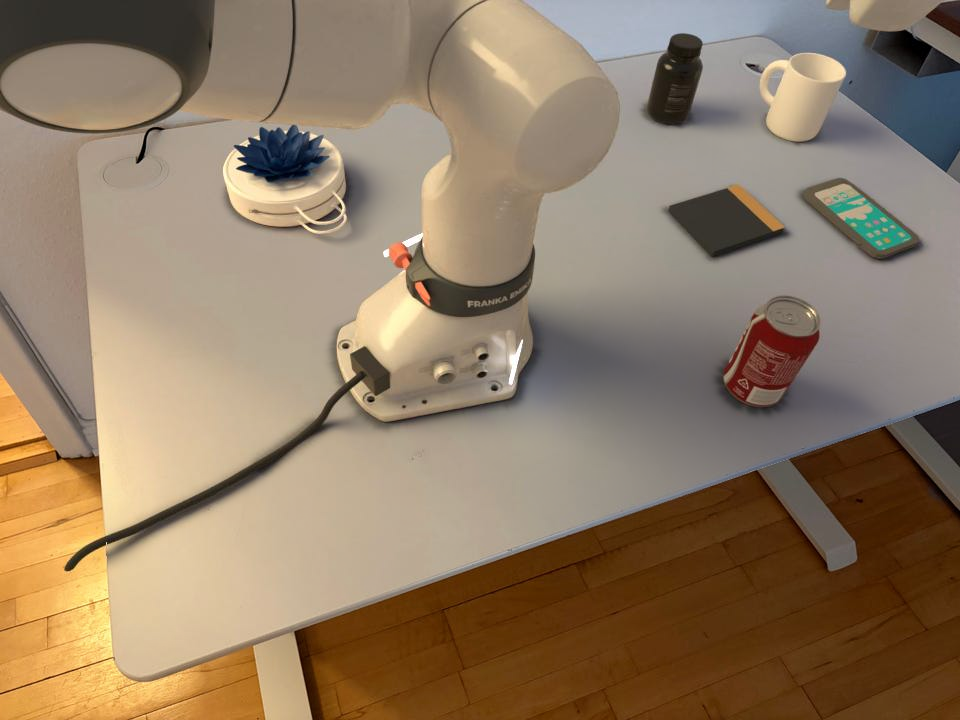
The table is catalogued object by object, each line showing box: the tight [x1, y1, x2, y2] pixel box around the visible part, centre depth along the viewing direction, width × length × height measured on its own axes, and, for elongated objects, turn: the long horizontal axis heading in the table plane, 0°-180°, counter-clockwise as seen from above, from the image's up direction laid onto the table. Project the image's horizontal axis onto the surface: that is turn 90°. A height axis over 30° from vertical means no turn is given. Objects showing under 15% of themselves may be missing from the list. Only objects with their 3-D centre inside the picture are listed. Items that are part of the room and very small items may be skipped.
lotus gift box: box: [222, 125, 348, 235], centre depth 95 cm, size 7×16×20 cm
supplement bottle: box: [646, 32, 704, 125], centre depth 110 cm, size 7×7×12 cm
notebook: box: [667, 183, 785, 258], centre depth 98 cm, size 12×10×1 cm
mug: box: [759, 52, 847, 143], centre depth 111 cm, size 12×8×10 cm
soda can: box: [722, 294, 822, 408], centre depth 76 cm, size 7×7×12 cm
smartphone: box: [802, 177, 920, 260], centre depth 100 cm, size 9×1×15 cm
